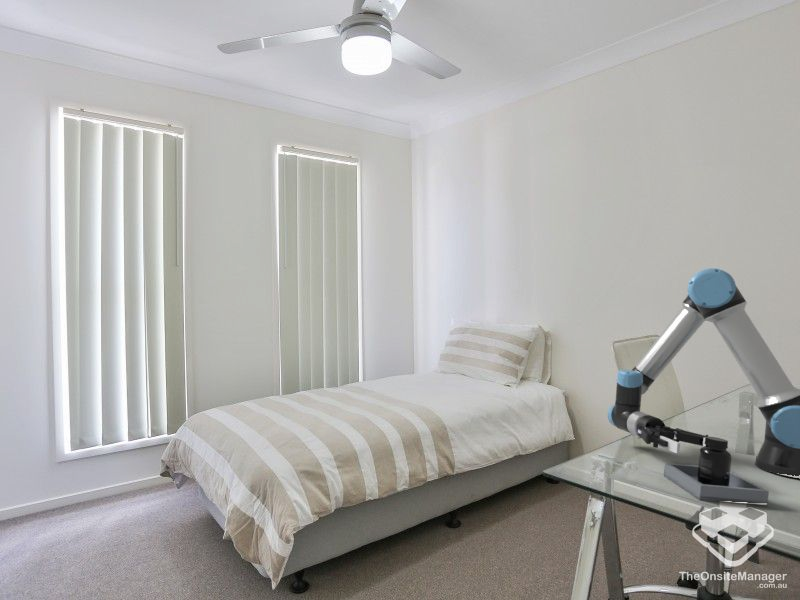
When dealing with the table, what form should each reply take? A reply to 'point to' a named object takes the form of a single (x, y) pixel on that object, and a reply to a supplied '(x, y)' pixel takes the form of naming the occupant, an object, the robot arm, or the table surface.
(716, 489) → the charcoal tray
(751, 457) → the table surface
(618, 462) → the table surface
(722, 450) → the supplement bottle
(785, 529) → the table surface
